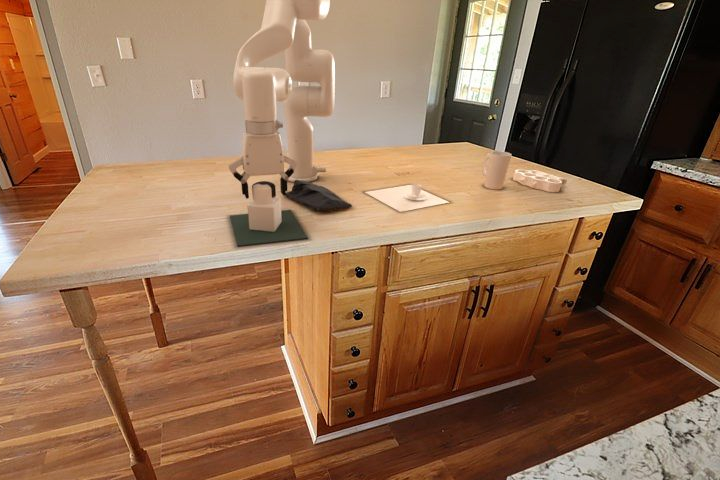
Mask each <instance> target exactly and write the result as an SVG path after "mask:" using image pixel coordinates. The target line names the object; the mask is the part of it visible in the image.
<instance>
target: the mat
mask: <svg viewBox="0 0 720 480" xmlns="http://www.w3.org/2000/svg"><path fill="white" fill-rule="evenodd" d="M281 217H282V222H281V223H280V225H279V226H278V228H277V229H276V231H275V232H269V231H258V230H250V229H249V219H248V213H243V214H242V213H241V214H231V215H229V218H230V222H231V227H232V230H233V234H234V235H233V236H234V238H235V242H236V246H237V248H239V247H247V246H258V245H264V244H274V243H285V242H293V241H301V240H308V239H309V237H308V236H307V234H306V232H305V230H304V229H303V227H302V226H301V224H300V223H299V221H298V219H297V218H296V216H295V214H294V213H293V211H292V210H291V209H288V210H287V209H286V210H281Z"/></svg>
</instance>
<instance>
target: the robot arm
mask: <svg viewBox="0 0 720 480" xmlns="http://www.w3.org/2000/svg"><path fill="white" fill-rule="evenodd" d="M330 5H331V0H265V6H264V11H263V17H262V21H261V27H260V29H259V30H258V31H256V32H255V33H254V34H252V36H250V37H249V38H248V39H247V41H245V42H244V43H243V45H242V46H241V47H240V49H239V50H238V53H237V56H236V60H235V65H234V70H233V77H232V85H233V87H232V88H233V90H234V93H235V95H236V96H237V97H238V98H240V99H241V100H243V110H244V111H243V112H244V125H245V132H242V137H241V157H240V158H238V159H237V160H235V161H233V162H232V163H230V164H228V169H229V171H230V173H231V174H232V175H233V177H234V178H235V179H236V180H237V181H238V182H240V185H241V195H243V196H244V197H245V199H246V200H247V199H249V198H250V196H249V195H250V194H249V193H250V192H249V184H248V180H249V179H250V178H251V177H256V176H257V177H258V176H259V177H260V176H271V175H272V176H273V175H279V176H280V178H279V181H280V184H279V185H280V186H279V187H280V193H281V195H282V196H283V197H284V196H285V195H286V192H288V182H291V183H294V181H295V180H300V181H306V182H310V183H311V182H314V181H316V180H317V179H318V173H326V172H327V167H326V166H320V165H318V166H316V165H314V135H315V134H314V133H315V132H314V126H313V125H312V123H311V122H310V120H309V118H308V117H319V118H320V117H322V118H327V117H330V116H332V114H333V113H334V110H335V103H336V102H335V101H336V100H335V99H336V98H335V97H336V96H335V95H336V67H335V66H336V64H335V58H334V55H333V53H332V52H331V51H330V50H327V49H313V47H312V31H311V28H310V26H309V24H308V22H307V21H323V20H325V19H326V18H327V16H328V14H329V11H330ZM283 52H284V59H285V60H284V61H285V69H284V68H281V67H265V66H264V67H263V66H257V65H258V64H259V63H260V62H262V61H264V60H266V59H269V58H271V57H274V56H276V55H279V54H280V53H283ZM293 82H297V83H318V84H319V86H318V85H301V84H299V85H293ZM277 102H283V109H284V114H285V121H286V156H285V154H284V149H283V141H282V137H281V132H280V131H279V129H282V128H284V123H283V121H279V120H278V119H277V118H278V117H277V116H278V115H277V113H278V112H277ZM285 163H286V164H287V169H286V170H285ZM241 166H242V170H243V172H242V173H239V172H238V171H237V168H240V167H241ZM285 197H286V196H285Z"/></svg>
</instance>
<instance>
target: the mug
mask: <svg viewBox="0 0 720 480" xmlns="http://www.w3.org/2000/svg"><path fill="white" fill-rule="evenodd" d="M511 159H512V153H510V152H508V151H501V150H494V151H491V152H487V153H486V156H485V157H484V158H483V161H482V165H481V166H482V176H483V177H484V184H483V186H484V188H487V189H490V190H501V189H503V187H504V183H505V180H506V177H507V172H508V169H509V166H510V163H511ZM487 161H488V162H487ZM487 163H488V164H487ZM486 165H487V166H486ZM486 167H487V168H486Z"/></svg>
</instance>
